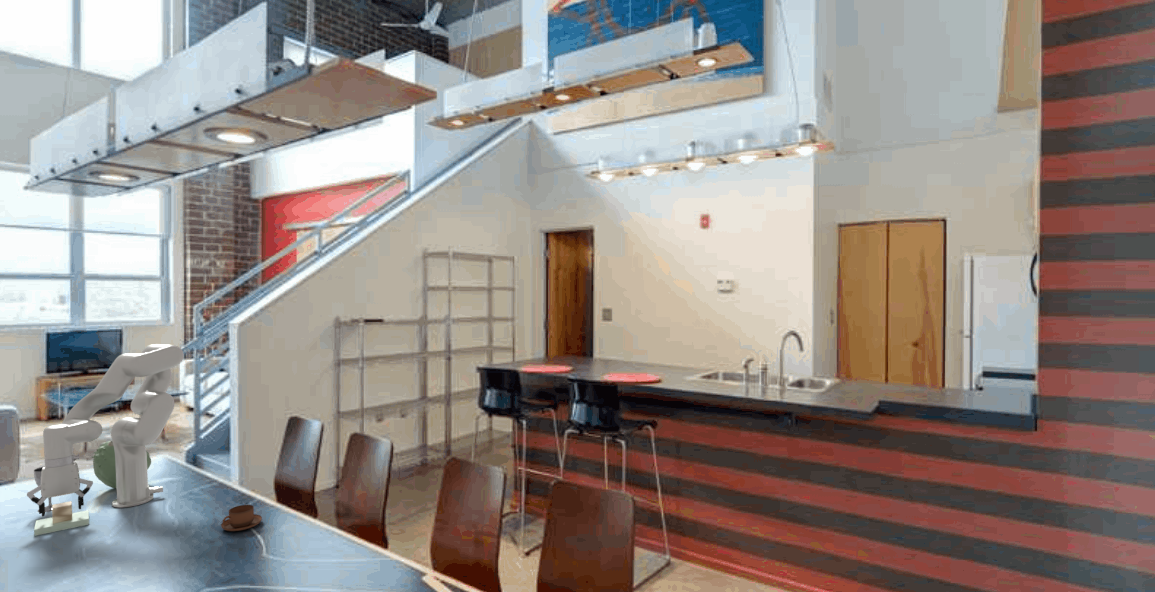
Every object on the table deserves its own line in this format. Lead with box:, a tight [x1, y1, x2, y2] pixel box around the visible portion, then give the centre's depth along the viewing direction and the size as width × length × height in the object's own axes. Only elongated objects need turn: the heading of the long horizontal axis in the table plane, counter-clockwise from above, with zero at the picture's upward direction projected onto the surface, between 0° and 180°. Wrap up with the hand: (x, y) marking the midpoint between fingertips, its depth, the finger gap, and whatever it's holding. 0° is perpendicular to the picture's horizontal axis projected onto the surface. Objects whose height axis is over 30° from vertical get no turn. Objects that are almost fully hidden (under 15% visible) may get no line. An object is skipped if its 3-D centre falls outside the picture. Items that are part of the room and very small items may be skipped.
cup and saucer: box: [220, 504, 263, 532], centre depth 207 cm, size 12×12×6 cm
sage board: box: [33, 509, 90, 537], centre depth 210 cm, size 14×10×2 cm
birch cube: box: [51, 500, 73, 524], centre depth 210 cm, size 5×5×5 cm
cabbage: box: [91, 440, 152, 489], centre depth 247 cm, size 16×19×20 cm
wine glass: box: [33, 465, 54, 513], centre depth 225 cm, size 8×8×15 cm
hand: (62, 511), depth 210 cm, fingers open, 9 cm apart
